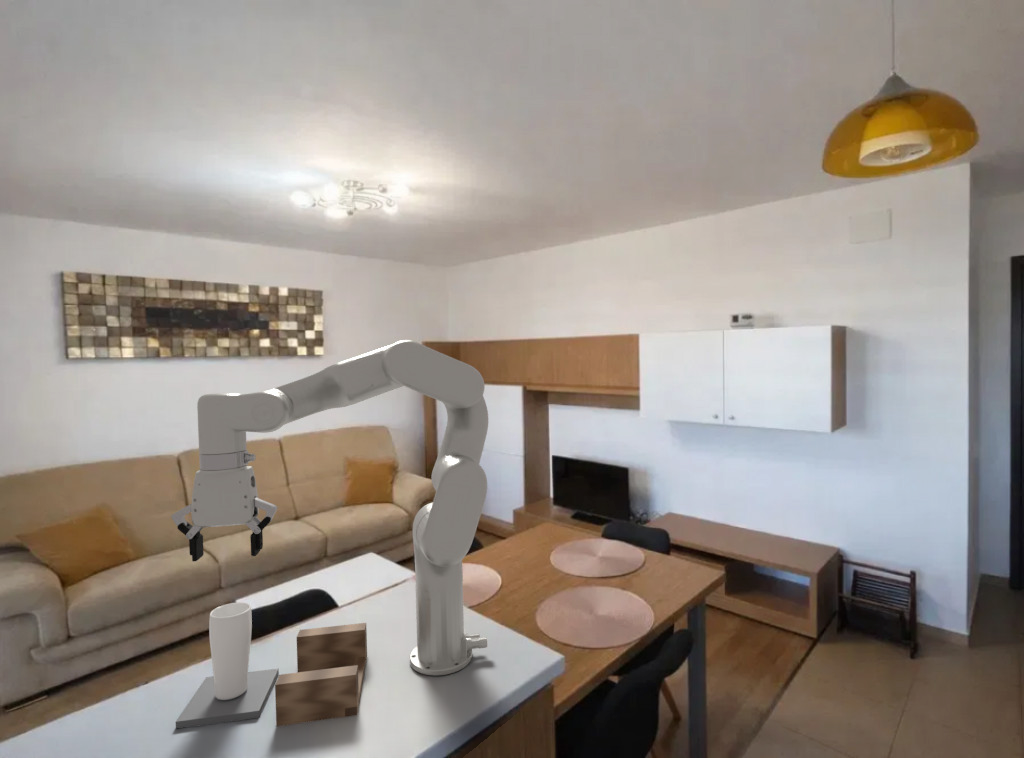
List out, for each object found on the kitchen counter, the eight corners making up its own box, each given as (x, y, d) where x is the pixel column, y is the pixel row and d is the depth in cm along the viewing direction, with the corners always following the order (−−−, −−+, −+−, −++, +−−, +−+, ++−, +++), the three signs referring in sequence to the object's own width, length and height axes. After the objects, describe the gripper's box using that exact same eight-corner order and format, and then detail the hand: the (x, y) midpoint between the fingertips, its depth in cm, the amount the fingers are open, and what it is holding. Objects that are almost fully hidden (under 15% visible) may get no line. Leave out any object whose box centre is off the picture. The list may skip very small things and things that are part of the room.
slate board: (278, 674, 102) (278, 668, 102) (259, 717, 89) (259, 710, 89) (206, 683, 100) (206, 677, 100) (175, 728, 87) (175, 721, 87)
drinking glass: (235, 705, 91) (235, 618, 91) (200, 702, 92) (200, 616, 92) (260, 683, 97) (259, 602, 98) (227, 681, 98) (226, 601, 99)
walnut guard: (367, 656, 108) (366, 622, 108) (357, 715, 90) (355, 674, 89) (300, 664, 106) (299, 629, 106) (276, 726, 87) (275, 684, 87)
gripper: (280, 455, 99) (283, 545, 100) (180, 461, 96) (183, 553, 96) (269, 462, 92) (272, 559, 92) (160, 468, 89) (164, 568, 89)
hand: (227, 556), depth 94 cm, fingers open, 9 cm apart
